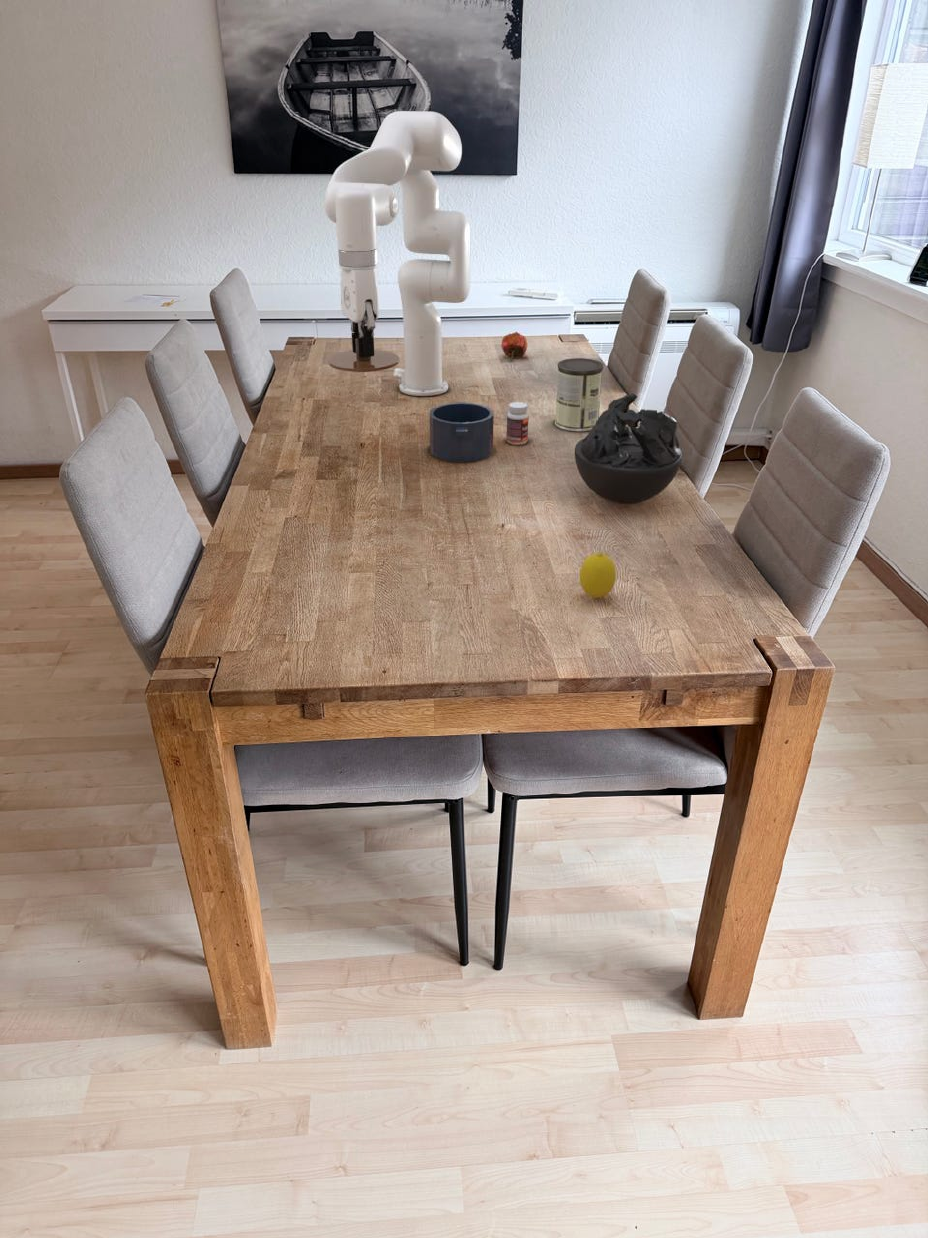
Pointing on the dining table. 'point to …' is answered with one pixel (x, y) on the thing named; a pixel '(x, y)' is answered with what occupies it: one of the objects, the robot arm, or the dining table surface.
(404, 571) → the dining table surface
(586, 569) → the lemon
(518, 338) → the pomegranate
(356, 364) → the lid
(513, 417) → the pill bottle
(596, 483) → the coal bowl
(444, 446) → the pot
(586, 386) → the coffee can
